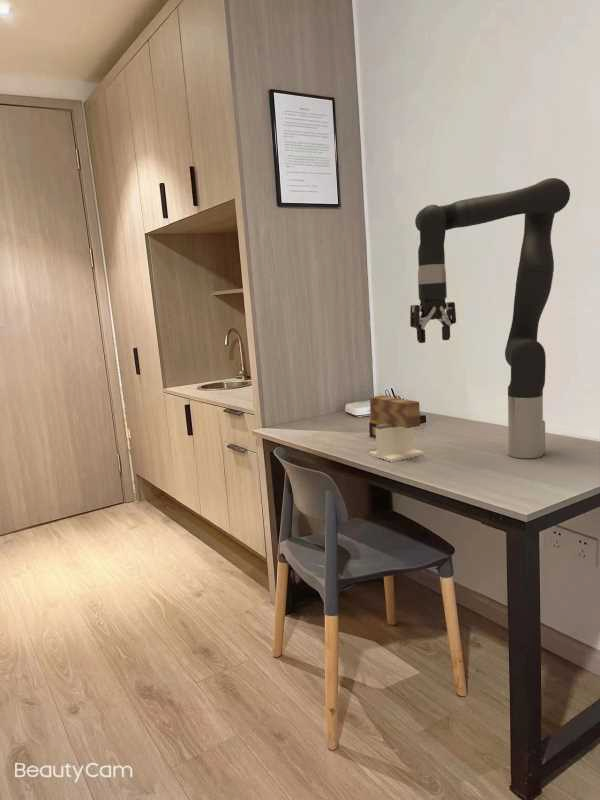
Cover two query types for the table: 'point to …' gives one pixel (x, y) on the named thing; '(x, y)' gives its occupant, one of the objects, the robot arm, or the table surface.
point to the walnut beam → (395, 411)
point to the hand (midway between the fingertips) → (434, 341)
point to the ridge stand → (394, 443)
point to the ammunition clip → (373, 426)
